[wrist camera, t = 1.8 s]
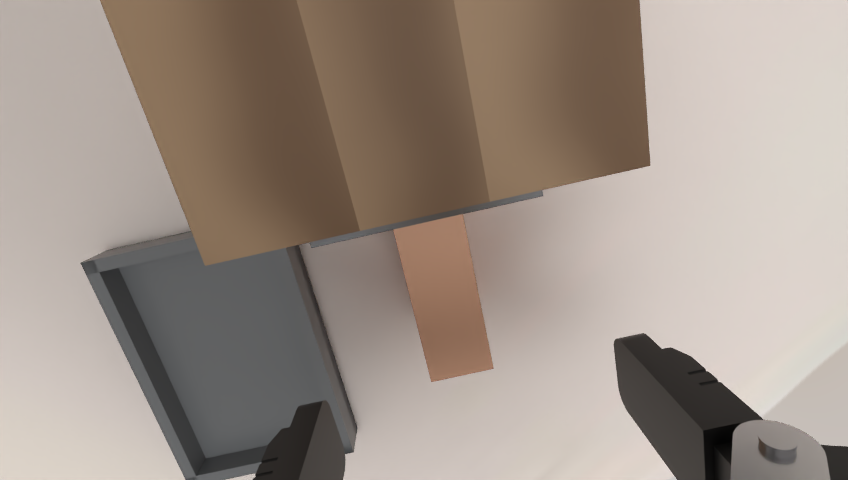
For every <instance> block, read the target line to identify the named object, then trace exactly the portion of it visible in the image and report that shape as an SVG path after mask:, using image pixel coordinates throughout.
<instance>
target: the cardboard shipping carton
mask: <svg viewBox="0 0 848 480" xmlns="http://www.w3.org/2000/svg"><path fill="white" fill-rule="evenodd" d="M100 1H101V4H102V7H103V9H104V12H105V14H106V17H107V19H108V22H109V24H110V27H111V29H112V32H113V34H114V37H115V39H116V42H117V44H118V47H119V50H120V52H121V55H122V57H123V60H124V62H125V65H126V67H127V70H128V72H129V75H130V77H131V80H132V82H133V85H134V87H135V90H136V93H137V95H138V98H139V100H140V103H141V105H142V108H143V110H144V113H145V115H146V118H147V120H148V123H149V125H150V128H151V130H152V133H153V136H154V138H155V141H156V143H157V146H158V148H159V151H160V153H161V156H162V158H163V161H164V163H165V166H166V168H167V171H168V173H169V176H170V179H171V181H172V184H173V186H174V189H175V191H176V194H177V196H178V199H179V201H180V204H181V206H182V209H183V211H184V214H185V216H186V219H187V222H188V224H189V227H190V229H191V232H192V234H193V237H194V239H195V242H196V244H197V247H198V249H199V252H200V254H201V257H202V259H203V262H204V265H205V266H207V265H211V264H215V263H220V262H224V261H229V260H233V259H238V258H242V257H247V256H251V255H255V254H260V253H264V252H269V251H273V250H278V249H282V248H286V247H291V246H295V245H300V244H304V243H309V242H310V244H311V248H314V247H318V246H323V245H327V244H331V243H336V242H340V241H345V240H349V239H354V238H358V237H363V236H367V235H371V234H376V233H380V232H385V231H389V230H394V229H398V228H403V227H407V226H412V225H416V224H420V223H425V222H429V221H434V220H438V219H443V218H447V217H452V216H456V215H460V214H465V213H469V212H474V211H478V210H483V209H487V208H492V207H496V206H501V205H505V204H509V203H514V202H518V201H523V200H527V199H532V198H536V197H541V196H543V192H542V190H544V189H549V188H553V187H558V186H562V185H566V184H571V183H575V182H580V181H584V180H589V179H593V178H598V177H602V176H606V175H611V174H615V173H620V172H624V171H629V170H633V169H638V168H642V167H646V166H650V153H649V138H648V123H647V108H646V93H645V78H644V63H643V48H642V33H641V18H640V3H639V0H100Z"/></svg>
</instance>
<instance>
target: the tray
mask: <svg viewBox="0 0 848 480" xmlns="http://www.w3.org/2000/svg"><path fill="white" fill-rule="evenodd" d="M81 265H82V267H83V269H84V271H85V273H86V275H87V277H88V279H89V281H90V283H91V285H92V288H93V290H94V292H95V294H96V296H97V298H98V300H99V302H100V304H101V306H102V308H103V310H104V312H105V314H106V316H107V318H108V321H109V323H110V325H111V327H112V329H113V331H114V333H115V335H116V337H117V339H118V341H119V343H120V345H121V347H122V349H123V351H124V354H125V356H126V358H127V360H128V362H129V364H130V366H131V368H132V370H133V372H134V374H135V376H136V378H137V380H138V382H139V384H140V387H141V389H142V391H143V393H144V395H145V397H146V399H147V401H148V403H149V405H150V407H151V409H152V411H153V413H154V415H155V417H156V420H157V422H158V424H159V426H160V428H161V430H162V432H163V434H164V436H165V438H166V440H167V442H168V444H169V446H170V448H171V450H172V453H173V455H174V457H175V459H176V461H177V463H178V465H179V467H180V469H181V471H182V473H183V475H184V477H185V479H186V480H225V479H230V478H234V477H239V476H244V475H248V474H253V473H256V472H257V469H258V467H259V465H260V464H261V463H262V462H261V460H262V458H263V455H264V453H265V451H266V448H267V446H268V444H269V443H270V442H271V441H272V439H273V438H274V437H275V436H276V435H277V434H278V432H279V431H280V430H281V429H283V428H288V427H290V425H291V423H292V420H293V417H294V415H295V412H296V410H297V408H298V406H300V405H305V404H310V403H314V402H319V401H324V400H326V401H327V402H328V403H329V405H330V408H331V411H332V414H333V417H334V420H335V423H336V425H337V428H338V431H339V434H340V437H341V440H342V443H343V447H344V452H345V454H347V453H352V452H354V446H355V440H356V433H357V426H356V423H355V420H354V417H353V413H352V410H351V407H350V404H349V401H348V398H347V395H346V392H345V389H344V386H343V382H342V379H341V376H340V373H339V370H338V367H337V364H336V361H335V358H334V355H333V351H332V348H331V345H330V342H329V339H328V336H327V333H326V330H325V327H324V324H323V321H322V317H321V314H320V311H319V308H318V305H317V302H316V299H315V296H314V293H313V290H312V286H311V283H310V280H309V277H308V274H307V271H306V268H305V265H304V262H303V259H302V255H301V252H300V249H299V246H298V245H295V246H291V247H286V248H282V249H278V250H273V251H269V252H264V253H260V254H255V255H251V256H247V257H242V258H238V259H233V260H229V261H224V262H220V263H215V264H211V265H207V266H205V265H204V262H203V259H202V257H201V254H200V252H199V249H198V247H197V244H196V242H195V239H194V237H193V234H192V232H191V231H190V232H186V233H181V234H177V235H173V236H168V237H164V238H159V239H155V240H151V241H146V242H142V243H137V244H133V245H129V246H124V247H120V248H115V249H111V250H107V251H105V252H103V253H101V254H98V255H96V256H94V257H92V258H90V259H88V260H86V261H83V262H81Z"/></svg>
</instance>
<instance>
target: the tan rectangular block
mask: <svg viewBox="0 0 848 480" xmlns="http://www.w3.org/2000/svg"><path fill="white" fill-rule="evenodd" d="M393 231H394V235H395V239H396V243H397V247H398V251H399V255H400V259H401V263H402V267H403V271H404V275H405V279H406V283H407V287H408V291H409V295H410V299H411V303H412V307H413V311H414V315H415V319H416V323H417V327H418V331H419V335H420V339H421V343H422V347H423V351H424V355H425V359H426V363H427V366H428V370H429V374H430V378H431V382H434V381H439V380H443V379H448V378H452V377H457V376H462V375H466V374H471V373H475V372H480V371H485V370H489V369H493V364H492V359H491V354H490V349H489V344H488V339H487V334H486V329H485V324H484V319H483V314H482V309H481V304H480V299H479V294H478V289H477V284H476V279H475V274H474V269H473V264H472V259H471V254H470V249H469V244H468V239H467V234H466V229H465V224H464V219H463V214H460V215H456V216H452V217H447V218H443V219H438V220H434V221H429V222H425V223H420V224H416V225H412V226H407V227H403V228H398V229H394V230H393Z"/></svg>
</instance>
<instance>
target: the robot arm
mask: <svg viewBox="0 0 848 480" xmlns="http://www.w3.org/2000/svg"><path fill="white" fill-rule="evenodd" d="M614 352H615V361H616V370H617V379H618V387H619V392H620V396H621V399H622V401H623V404H624V406H625V408H626V410H627V411H628V413H629V414H630V415H631V417H632V418H633V420H634V421H635V422H636V424H637V425H638V426H639V428H640V429H641V431H642V432H643V433H644V435H645V436H646V437H647V439H648V440H649V442H650V443H651V444H652V446H653V447H654V448H655V450H656V451H657V453H658V454H659V455H660V457H661V458H662V459H663V461H664V462H665V464H666V465H667V466H668V468H669V469H670V470H671V472H672V473H673V475H674V476H675V477H676V479H677V480H848V447H845V446H844V447H843V446H828V445H820V444H819V443H818V442H817V441H816V440H815V439H814V438H813V437H811V436H810V435H808V434H807V433H805V432H803V431H801V430H800V429H797V428H795V427H793V426H790V425H787V424H784V423H780V422H776V421H769V420H763V419H762V418H761V417H760V416H759V415H758V414H757V413H755V412H754V411H753V410H752V409H751V408H750V407H749V406H747V405H746V404H745V403H744V402H743V401H742V400H740V399H739V398H738V397H737V396H736V395H735V394H734V393H732V392H731V391H730V390H729V389H728V388H727V387H726V386H724V385H723V384H722V383H721V382H718V380H717V379H716V378H715V377H714V376H713V375H712V374H711V373H709V372H706V370H705V368H704V367H702V366H701V365H700V364H699V363H698V362H697V361H696V360H694V359H693V358H692V357H691V356H689V355H687V354H684V353H682V352H680V351H678V350H675V349H673V348H671V347H670V348H665V349H661V348H660V347H659V346H658V345H657V344H656V343H655V342H654V341H653V340H652V339H651V338H650V337H649V336H647V335H646V334H644V333H642V334H637V335H633V336H628V337H623V338H619V339H615V341H614ZM261 462H262V463H261V464H260V465H259V467H258V469H257V472H256V474H255V475H256V477H255V478H254V479H253V480H343V476H344V471H345V452H344V447H343V443H342V440H341V437H340V434H339V431H338V428H337V425H336V423H335V420H334V417H333V414H332V411H331V408H330V405H329V403H328V402H327V401H326V400H324V401H319V402H314V403H310V404H305V405H300V406H298V408H297V410H296V412H295V415H294V417H293V420H292V423H291V425H290V427H288V428H283V429H281V430H280V431H279V432H278V434H277V435H276V436H275V437H274V438H273V439H272V441H271V442H270V443H269V444H268V446H267V448H266V451H265V453H264V455H263V458H262V460H261Z"/></svg>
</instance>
